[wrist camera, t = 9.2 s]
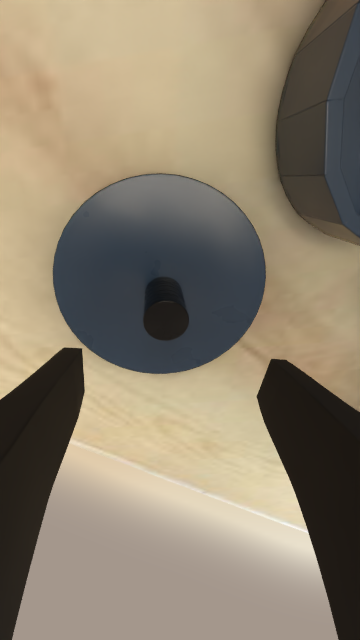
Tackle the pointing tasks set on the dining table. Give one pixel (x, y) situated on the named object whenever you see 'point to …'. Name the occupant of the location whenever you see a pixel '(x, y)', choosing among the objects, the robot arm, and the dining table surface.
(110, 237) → the lid
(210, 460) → the dining table surface
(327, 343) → the dining table surface
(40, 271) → the dining table surface
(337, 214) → the pot
